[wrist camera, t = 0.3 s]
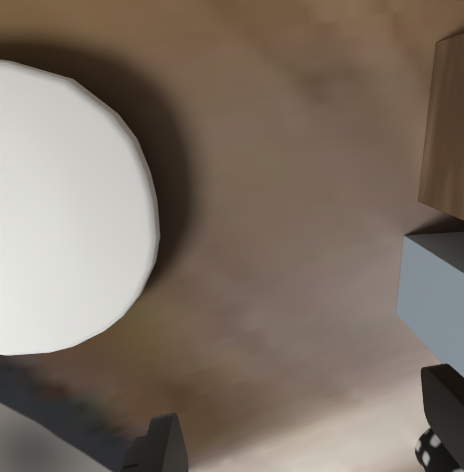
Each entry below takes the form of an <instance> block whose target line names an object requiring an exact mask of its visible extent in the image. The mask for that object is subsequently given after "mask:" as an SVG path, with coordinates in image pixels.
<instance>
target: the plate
mask: <svg viewBox="0 0 464 472" xmlns="http://www.w3.org/2000/svg"><path fill="white" fill-rule="evenodd" d="M159 240H160V227H159V215H158V203H157V196H156V192H155V188H154V184H153V180H152V176H151V172H150V169H149V167H148V164H147V162H146V159H145V157H144V154H143V152H142V149H141V147H140V144H139V142H138V139H137V138H136V136H135V135H134V134H133V133H132V131H131V130H130V129H129V127H128V126H127V125H126V123H125V122H124V121H123V119H122V118H121V117H120V115H119V114H118V113H117V112H115V111H114V110H113V109H111V108H110V107H109V106H108V105H106V104H105V103H104V102H102V101H101V100H100V99H99V98H97V97H96V96H95V95H93V94H92V93H91V92H89V91H88V90H87V89H86V88H84V87H83V86H82V85H80V84H79V83H78V82H76V81H75V80H74V79H72V78H68V77H65V76H61V75H58V74H54V73H51V72H47V71H44V70H40V69H37V68H33V67H30V66H26V65H23V64H19V63H16V62H13V61H7V60H0V355H20V354H34V353H48V352H54V351H57V350H61V349H65V348H69V347H73V346H75V345H77V344H79V343H81V342H83V341H85V340H87V339H89V338H91V337H93V336H95V335H97V334H99V333H101V332H103V331H105V330H106V329H107V328H109V327H110V326H111V325H112V324H114V323H115V322H116V321H117V320H119V319H120V318H121V317H122V316H123V315H124V314H125V313H126V312H127V311H128V310H129V308H130V307H131V306H132V305H133V303H134V302H135V301H136V300H137V298H138V297H139V296H140V295H141V293H142V292H143V289H144V287H145V285H146V283H147V280H148V278H149V276H150V274H151V271H152V269H153V267H154V265H155V263H156V258H157V252H158V246H159Z"/></svg>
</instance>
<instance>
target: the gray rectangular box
mask: <svg viewBox="0 0 464 472" xmlns="http://www.w3.org/2000/svg"><path fill="white" fill-rule="evenodd" d="M396 314H397V315H398V316H399V317H400V318H401V319H402V320H403V321H404V322H405V324H406V325H407V326H408V327H409V328H410V329H411V330H412V331H413V332H414V333H415V335H416V336H417V337H418V338H419V339H420V340H421V341H422V342H423V343H424V344H425V345H426V347H427V348H428V349H429V350H430V351H431V352H432V353H433V354H434V355H435V356H436V358H437V359H438V360H439V361H440V362H441V363H442V364H445V363H447V364H449V365H450V366H452V367H453V368H454V369H455V370H456V371H457V372H458V373H459V374H460V375H462V376H463V377H464V232H451V233H435V234H420V235H404V241H403V251H402V261H401V270H400V280H399V289H398V299H397V308H396Z"/></svg>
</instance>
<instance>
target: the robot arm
mask: <svg viewBox="0 0 464 472" xmlns="http://www.w3.org/2000/svg"><path fill="white" fill-rule="evenodd" d="M421 382H422V393H423V404H424V412H425V416H426V418H427V421H428V423H429V425H430V427H431V429H432V430H433V432H434V433H435V434H436V436H437V437H438V438H439V440H440V441H441V442H442V443H443V445H444V446H445V447H446V449H447V450H448V451H449V452H450V454H451V455H452V456H453V458H454V459H455V460H456V461H457V463H458V464H459V465H460V467H461V468H462V469H463V470H464V377H463V376H462V375H460V374H459V373H458V372H457V371H456V370H455V369H454V368H453V367H452V366H450V365H449V364H447V363H445V364H440V365H434V366H429V367H423V368H422V369H421ZM121 467H122V469H121V470H120V472H188V456H187V451H186V447H185V443H184V439H183V435H182V431H181V427H180V424H179V420H178V416H177V414H176V413H171V414H165V415H160V416H154V417H152V419H151V422H150V426H149V429H148V433H147V436H141V437H137V438H136V440H135V441H134V442H133V444H132V445H131V446H130V447H129V449H128V450H127V451H126V454H125V457H124V460H123V463H122V466H121Z"/></svg>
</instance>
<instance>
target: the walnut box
mask: <svg viewBox="0 0 464 472" xmlns="http://www.w3.org/2000/svg"><path fill="white" fill-rule="evenodd" d="M418 202H421V203H423V204H426V205H428V206H430V207H433V208H435V209H437V210H440V211H442V212H445V213H447V214H449V215H452V216H454V217H457V218H459V219H461V220H464V33H463V34H460V35H457V36H454V37H451V38H448V39H445V40H442V41H439V42H436V47H435V56H434V65H433V74H432V82H431V91H430V100H429V109H428V117H427V126H426V135H425V144H424V153H423V161H422V170H421V179H420V188H419V196H418Z"/></svg>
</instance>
